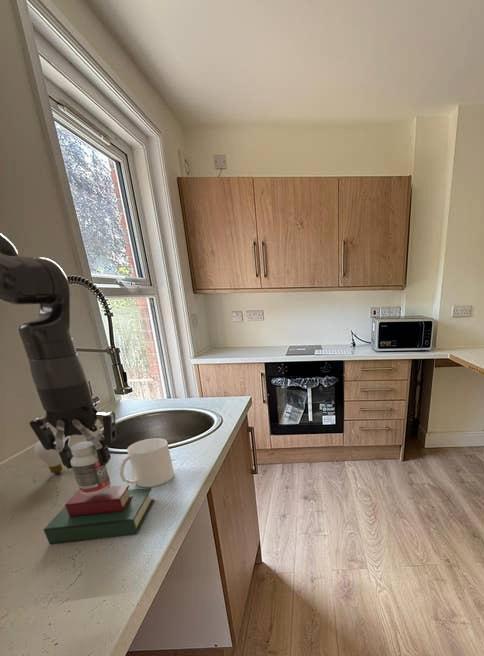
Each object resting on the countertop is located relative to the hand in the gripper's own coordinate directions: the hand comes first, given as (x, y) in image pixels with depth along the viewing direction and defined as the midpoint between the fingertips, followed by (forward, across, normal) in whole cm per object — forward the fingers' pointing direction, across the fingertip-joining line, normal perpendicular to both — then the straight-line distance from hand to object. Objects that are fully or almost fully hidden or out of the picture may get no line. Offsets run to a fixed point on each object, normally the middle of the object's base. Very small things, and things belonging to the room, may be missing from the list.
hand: (88, 464), depth 68 cm
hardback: (+13, 0, 0) cm, 13 cm away
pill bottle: (+6, 0, 0) cm, 6 cm away
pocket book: (+10, 0, 0) cm, 10 cm away
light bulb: (+14, +22, -25) cm, 36 cm away
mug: (+13, -4, -16) cm, 21 cm away
